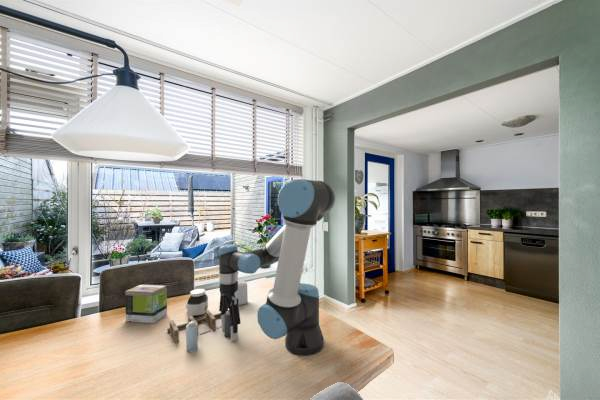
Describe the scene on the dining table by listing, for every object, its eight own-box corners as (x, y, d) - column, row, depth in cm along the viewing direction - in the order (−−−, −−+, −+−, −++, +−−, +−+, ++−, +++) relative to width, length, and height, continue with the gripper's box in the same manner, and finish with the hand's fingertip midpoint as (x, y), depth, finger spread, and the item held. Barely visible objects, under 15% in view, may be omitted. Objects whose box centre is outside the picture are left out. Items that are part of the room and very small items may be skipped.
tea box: (167, 314, 125) (167, 284, 125) (152, 324, 115) (152, 292, 115) (141, 312, 127) (141, 283, 127) (124, 321, 118) (124, 290, 117)
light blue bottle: (199, 348, 96) (198, 323, 96) (187, 353, 93) (187, 326, 93) (196, 344, 99) (195, 319, 99) (185, 348, 96) (184, 322, 96)
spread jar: (199, 319, 119) (198, 295, 119) (177, 318, 121) (177, 294, 120) (212, 308, 130) (212, 286, 130) (192, 307, 132) (192, 285, 132)
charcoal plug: (235, 335, 105) (235, 311, 105) (226, 338, 102) (226, 314, 102) (232, 331, 108) (231, 308, 108) (223, 334, 106) (222, 311, 105)
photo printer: (230, 308, 130) (230, 285, 130) (227, 305, 134) (227, 282, 134) (248, 303, 137) (248, 280, 137) (245, 300, 140) (245, 279, 140)
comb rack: (233, 323, 115) (233, 312, 115) (172, 343, 99) (172, 331, 99) (224, 314, 123) (224, 304, 123) (167, 332, 108) (167, 320, 108)
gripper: (248, 286, 99) (249, 343, 99) (227, 273, 116) (227, 321, 116) (230, 291, 94) (231, 350, 94) (211, 276, 112) (211, 326, 112)
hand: (229, 334), depth 105 cm, fingers open, 10 cm apart
